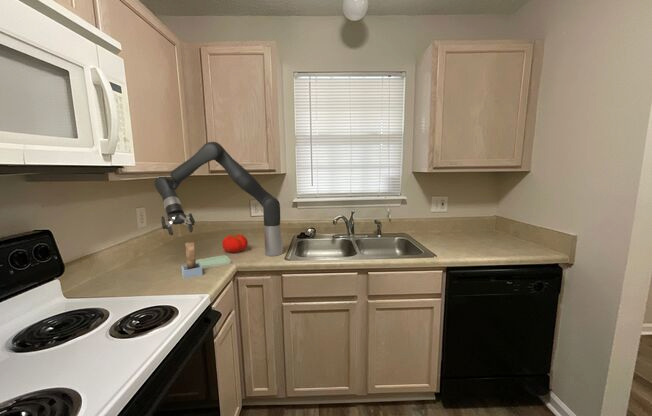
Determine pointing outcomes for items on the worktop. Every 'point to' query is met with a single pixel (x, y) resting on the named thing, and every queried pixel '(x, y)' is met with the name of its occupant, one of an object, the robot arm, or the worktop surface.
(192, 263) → the dowel
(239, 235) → the tomato
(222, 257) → the tray
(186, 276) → the pale blue open box
